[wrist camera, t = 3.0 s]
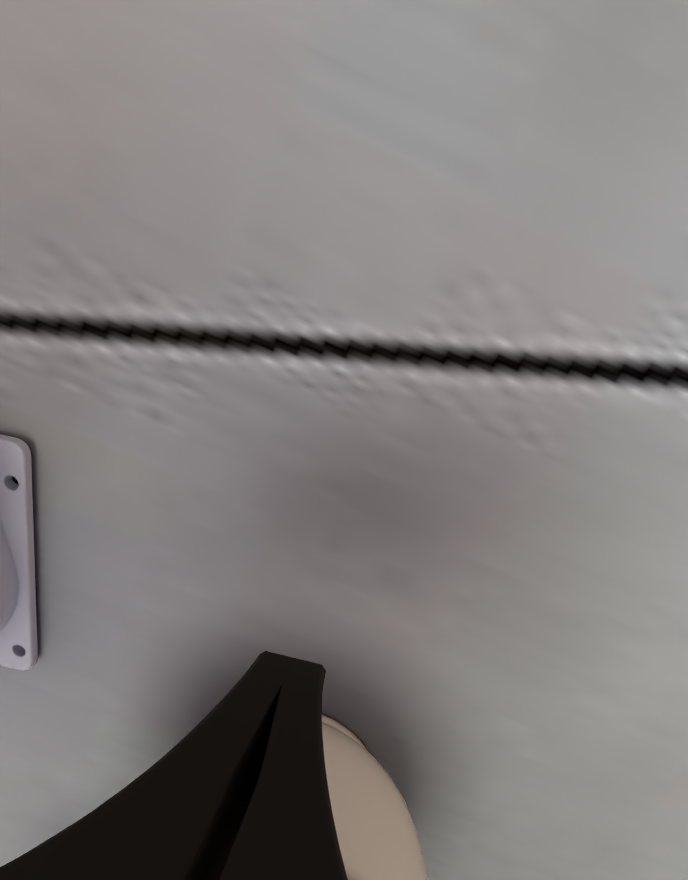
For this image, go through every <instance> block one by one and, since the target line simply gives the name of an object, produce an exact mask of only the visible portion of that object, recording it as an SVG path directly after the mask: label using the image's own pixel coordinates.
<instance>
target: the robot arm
mask: <svg viewBox="0 0 688 880" xmlns="http://www.w3.org/2000/svg"><path fill="white" fill-rule="evenodd" d="M12 476H13V477H15V478H16V480H17V481H18V484H19V485H18V484H16V483H15V482H14V481H13V479H12ZM37 659H38V650H37V620H36V589H35V559H34V528H33V497H32V467H31V452H30V449H29V447H28V445H27V444H26V443H25V442H24V441H23V440H21V439H18V438H15V437H11V436H6V435H1V434H0V666H4V667H8V668H12V669H16V670H20V671H28V670H30V669H31V668H32V667H33V666H34V664H35V663H36V662H37ZM325 673H326V670H325V669H324V667H323V666H322V665H320V664H316V663H312V662H308V661H304V660H300V659H296V658H292V657H288V656H284V655H280V654H276V653H271V652H267V651H265V652H263V653H261V654H260V655H259V656H258V658H257V659H256V660H255V662H254V663H253V664H252V666H251V667H250V668H249V669H248V671H247V672H246V673H245V674H244V676H243V677H242V678H241V679H240V680H239V682H238V683H237V684H236V685H235V686H234V687H233V688H232V690H231V691H230V692H229V693H228V694H227V695H226V696H225V697H224V698H223V699H222V700H221V701H220V703H219V704H218V705H217V706H216V707H215V708H214V709H213V710H212V711H211V712H210V713H209V714H208V715H207V716H206V717H205V718H204V719H203V720H202V721H201V722H200V723H199V724H198V725H197V726H196V727H195V728H194V729H193V730H192V731H191V732H190V733H189V734H187V735H186V736H185V737H184V738H183V739H182V740H181V741H180V742H179V743H178V744H177V745H176V746H175V747H174V748H172V749H171V750H170V751H169V752H168V753H167V754H166V755H165V756H163V757H162V758H161V759H160V760H159V761H158V762H156V763H155V764H154V765H153V766H152V767H150V768H149V769H148V770H147V771H145V772H144V773H143V774H142V775H140V776H139V777H138V778H137V779H135V780H134V781H133V782H132V783H130V784H129V785H128V786H126V787H125V788H124V789H122V790H121V791H120V792H118V793H117V794H115V795H114V796H113V797H111V798H110V799H109V800H107V801H106V802H104V803H103V804H102V805H100V806H99V807H98V808H96V809H95V810H93V811H92V812H90V813H89V814H87V815H86V816H85V817H83V818H82V819H80V820H79V821H77V822H76V823H74V824H72V825H71V826H69V827H67V828H66V829H64V830H63V831H61V832H59V833H58V834H56V835H55V836H53V837H51V838H50V839H48V840H46V841H45V842H43V843H42V844H40V845H38V846H37V847H35V848H34V849H32V850H30V851H29V852H27V853H25V854H23V855H22V856H20V857H18V858H17V859H15V860H13V861H11V862H9V863H7V864H6V865H4V866H2V867H0V880H348V878H347V875H346V871H345V867H344V863H343V859H342V855H341V851H340V847H339V842H338V837H337V833H336V828H335V823H334V818H333V813H332V808H331V802H330V796H329V789H328V782H327V776H326V768H325V759H324V747H323V735H322V690H323V684H324V678H325Z"/></svg>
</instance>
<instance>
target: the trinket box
mask: <svg viewBox="0 0 688 880" xmlns="http://www.w3.org/2000/svg"><path fill="white" fill-rule="evenodd" d="M322 735H323V747H324V759H325V768H326V776H327V782H328V789H329V796H330V802H331V808H332V813H333V818H334V823H335V828H336V833H337V837H338V842H339V847H340V851H341V855H342V859H343V863H344V867H345V871H346V875H347V878H348V880H428V879H427V874H426V869H425V864H424V859H423V854H422V849H421V845H420V840H419V836H418V833H417V830H416V828H415V825H414V822H413V820H412V817H411V814H410V812H409V810H408V807H407V805H406V803H405V800H404V798H403V797H402V795H401V793H400V792H399V790H398V788H397V787H396V785H395V784H394V782H393V781H392V779H391V778H390V776H389V774H388V773H387V771H386V770H385V769H384V768H383V767H382V766H381V765H380V764H379V763H378V761H377V760H376V759H375V758H374V757H373V756H372V755H371V754H370V753H369V752H368V751H367V749H366V748H365V746H364V745H363V744H362V743H361V741H360V740H359V739H358V738H357V737H356V736H355V735H354V734H353V733H352V732H350V731H349V730H348V729H347V728H346V727H344V726H343V725H341V724H339V723H338V722H336V721H335V720H333V719H331V718H329V717H326V716H324V715H322Z"/></svg>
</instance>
